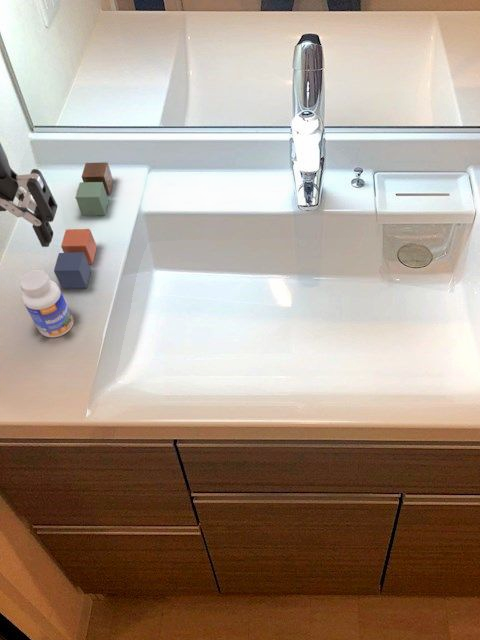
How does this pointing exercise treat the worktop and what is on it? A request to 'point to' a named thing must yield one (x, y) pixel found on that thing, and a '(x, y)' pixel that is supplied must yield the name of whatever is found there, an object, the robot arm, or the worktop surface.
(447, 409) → the worktop surface
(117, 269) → the worktop surface
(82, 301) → the worktop surface
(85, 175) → the block
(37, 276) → the pill bottle
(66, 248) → the block
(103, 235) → the worktop surface
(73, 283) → the block
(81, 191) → the block
